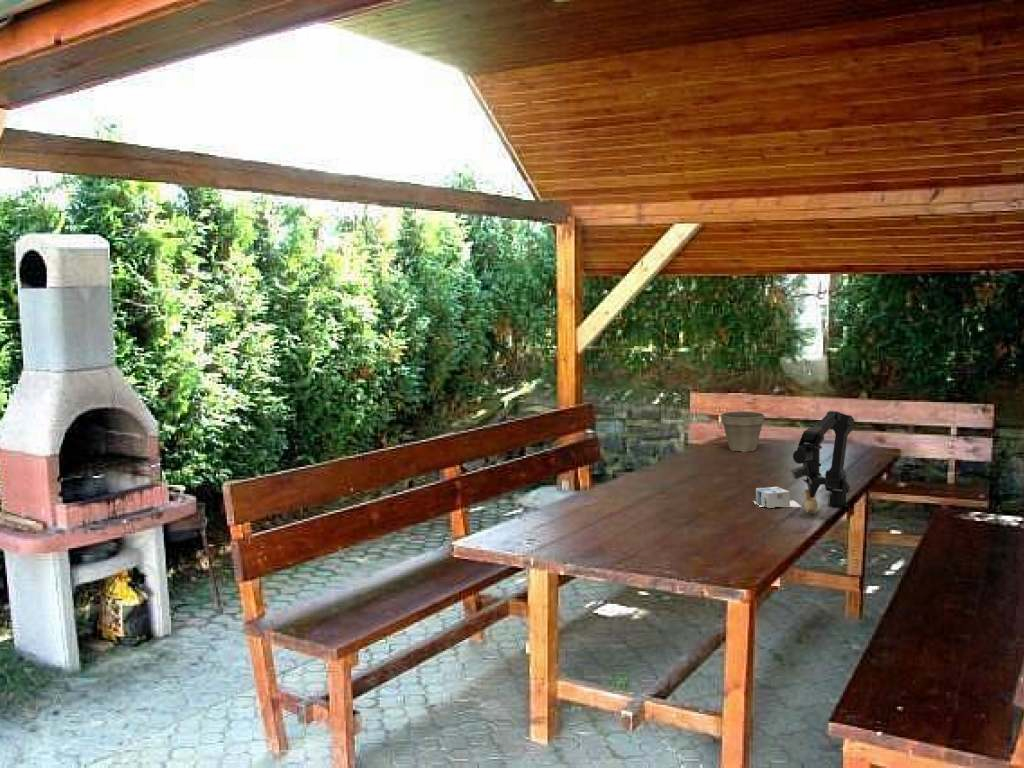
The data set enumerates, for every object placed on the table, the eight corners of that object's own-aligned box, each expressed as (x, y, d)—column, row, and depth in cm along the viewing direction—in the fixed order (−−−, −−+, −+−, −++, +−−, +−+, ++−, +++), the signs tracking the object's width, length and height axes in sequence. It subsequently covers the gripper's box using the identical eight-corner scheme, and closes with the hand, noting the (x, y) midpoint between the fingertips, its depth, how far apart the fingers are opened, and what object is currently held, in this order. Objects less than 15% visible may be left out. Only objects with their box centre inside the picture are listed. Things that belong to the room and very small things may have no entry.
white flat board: (793, 501, 400) (793, 500, 400) (801, 507, 388) (801, 506, 388) (752, 502, 400) (752, 501, 400) (759, 508, 389) (759, 507, 389)
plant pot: (751, 455, 517) (751, 417, 515) (713, 451, 534) (713, 414, 532) (771, 449, 535) (772, 413, 533) (734, 445, 552) (734, 410, 550)
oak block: (815, 513, 377) (811, 493, 382) (818, 509, 374) (814, 489, 379) (806, 513, 378) (802, 493, 382) (808, 509, 374) (804, 489, 379)
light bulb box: (768, 493, 385) (755, 487, 396) (768, 508, 386) (755, 503, 397) (790, 491, 388) (776, 486, 399) (790, 506, 389) (776, 500, 399)
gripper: (786, 457, 384) (786, 493, 385) (799, 465, 365) (799, 502, 367) (812, 456, 384) (812, 492, 385) (827, 464, 365) (827, 502, 367)
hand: (812, 497), depth 376 cm, fingers closed
